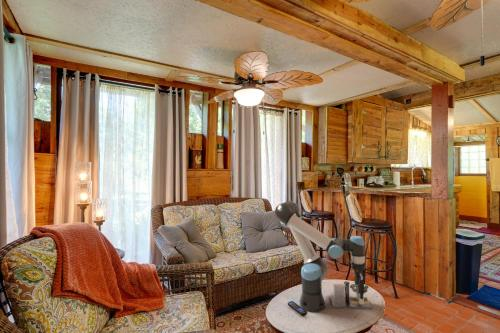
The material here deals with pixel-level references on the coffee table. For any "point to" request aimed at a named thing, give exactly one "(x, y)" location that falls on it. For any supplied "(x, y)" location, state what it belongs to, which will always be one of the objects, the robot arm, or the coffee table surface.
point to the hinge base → (350, 305)
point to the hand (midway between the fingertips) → (360, 301)
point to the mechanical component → (357, 288)
